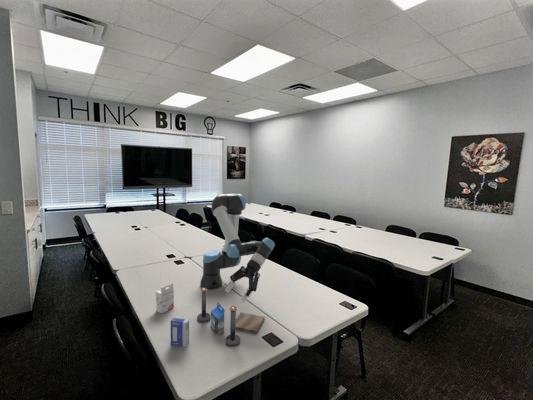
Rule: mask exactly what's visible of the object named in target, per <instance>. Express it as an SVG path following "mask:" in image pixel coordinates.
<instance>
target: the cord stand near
mask: <svg viewBox="0 0 533 400" xmlns="http://www.w3.org/2000/svg"><path fill="white" fill-rule="evenodd" d="M237 310H238V307H237V306H235V305H231V306H230V307H229V311H230V324H229V325H230V328H229V329H230V332H229V333H230V334H228V335H227V336H226V337H225V338H224V343H225V345H226V346H228V347H230V348H231V347H236V346H238V345H240V343H241V337H240V336H239V335H238V334H236V330H235V329H236V318H237Z"/></svg>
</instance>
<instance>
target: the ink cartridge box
mask: <svg viewBox="0 0 533 400" xmlns="http://www.w3.org/2000/svg"><path fill="white" fill-rule="evenodd" d="M174 298H175V296H174V283H171V284H167V285H165V286H163V287H161V288H160V289H158V290H156V291H155V304H156V305H155V307H156V310H155V311H156V312H158V313H159V314H163V313H165V312H168V311H169V310H172V309H173V308H174V307H175V304H174V303H175V302H174V301H175V300H174Z"/></svg>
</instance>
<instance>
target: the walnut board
mask: <svg viewBox="0 0 533 400" xmlns="http://www.w3.org/2000/svg"><path fill="white" fill-rule="evenodd" d="M264 321H265V316H262V315H256V314H252V313H248V312H247V313H246V312H242V311H241V312H240V313H239V314H238V315H237V316H236V329H235V331H242V332H245V333H250V334H255V335H257V334H258V332H259V330H260V328H261V327H262V325H263V323H264Z"/></svg>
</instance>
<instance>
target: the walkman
mask: <svg viewBox="0 0 533 400" xmlns="http://www.w3.org/2000/svg"><path fill="white" fill-rule="evenodd" d="M189 344H190V319H187V318H177V317H173V318H172V319H171V320H170V345H171V346H177V347H183V348H184V347H185V348H187V347H188V346H189Z"/></svg>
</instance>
